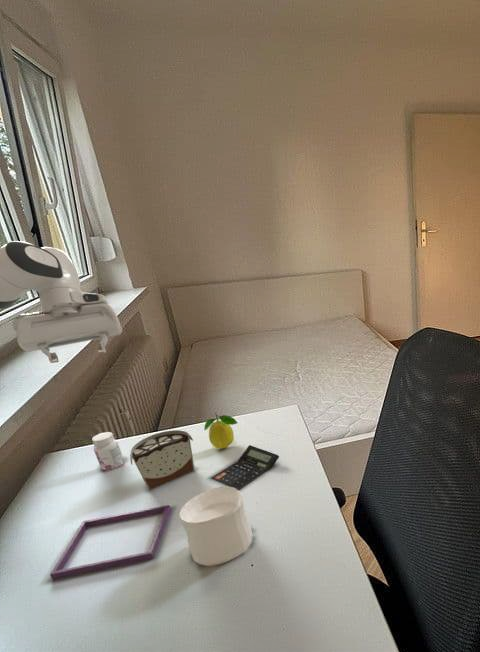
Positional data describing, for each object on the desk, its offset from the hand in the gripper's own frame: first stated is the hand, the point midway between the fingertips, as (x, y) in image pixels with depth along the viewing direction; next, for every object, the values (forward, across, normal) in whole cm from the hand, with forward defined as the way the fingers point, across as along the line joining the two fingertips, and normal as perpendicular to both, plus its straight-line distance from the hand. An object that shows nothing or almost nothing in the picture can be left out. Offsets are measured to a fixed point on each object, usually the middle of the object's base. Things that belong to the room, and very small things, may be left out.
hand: (78, 356), depth 103 cm
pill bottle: (+26, 0, +9) cm, 27 cm away
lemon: (+32, +24, +3) cm, 40 cm away
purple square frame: (+48, 0, -13) cm, 49 cm away
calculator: (+42, +25, -7) cm, 49 cm away
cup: (+57, +15, -22) cm, 63 cm away
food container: (+35, +10, -1) cm, 37 cm away
